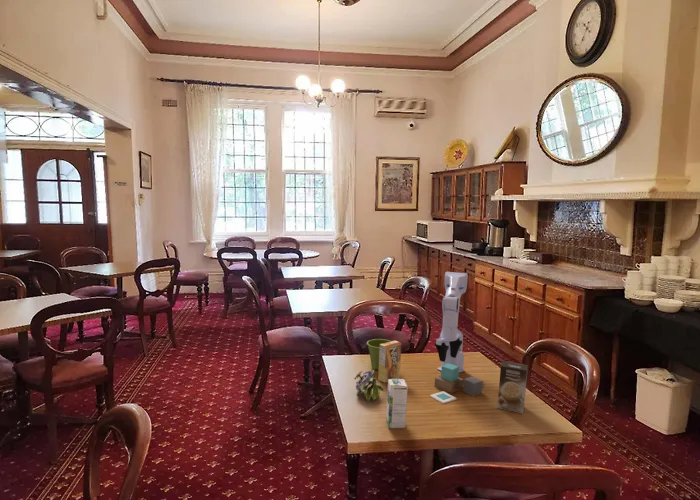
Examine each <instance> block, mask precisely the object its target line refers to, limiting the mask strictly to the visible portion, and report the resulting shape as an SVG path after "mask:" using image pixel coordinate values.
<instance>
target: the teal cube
mask: <svg viewBox="0 0 700 500" xmlns="http://www.w3.org/2000/svg"><path fill="white" fill-rule="evenodd" d="M440 372H441V373H440V374H441V375H440V376H441V379H444V380H447V381H450V382H453V381H455V380H457V379H459V378H460V372H459V366H456V365H453V364H449V363H447V364H445V365H443V366H442V369H441V371H440Z"/></svg>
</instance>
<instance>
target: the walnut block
mask: <svg viewBox="0 0 700 500" xmlns="http://www.w3.org/2000/svg"><path fill="white" fill-rule="evenodd" d="M464 379H465V378H461V377H459V379H457V380H455V381H453V382H450V381H447V380H444V379H441V375H439V376H436V377H434V387H435V388H437V389H440V390H442V391H444V392H446V393H448V394H454V393H455V392H457V391H460V390H462V389H463V388H464Z"/></svg>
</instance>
